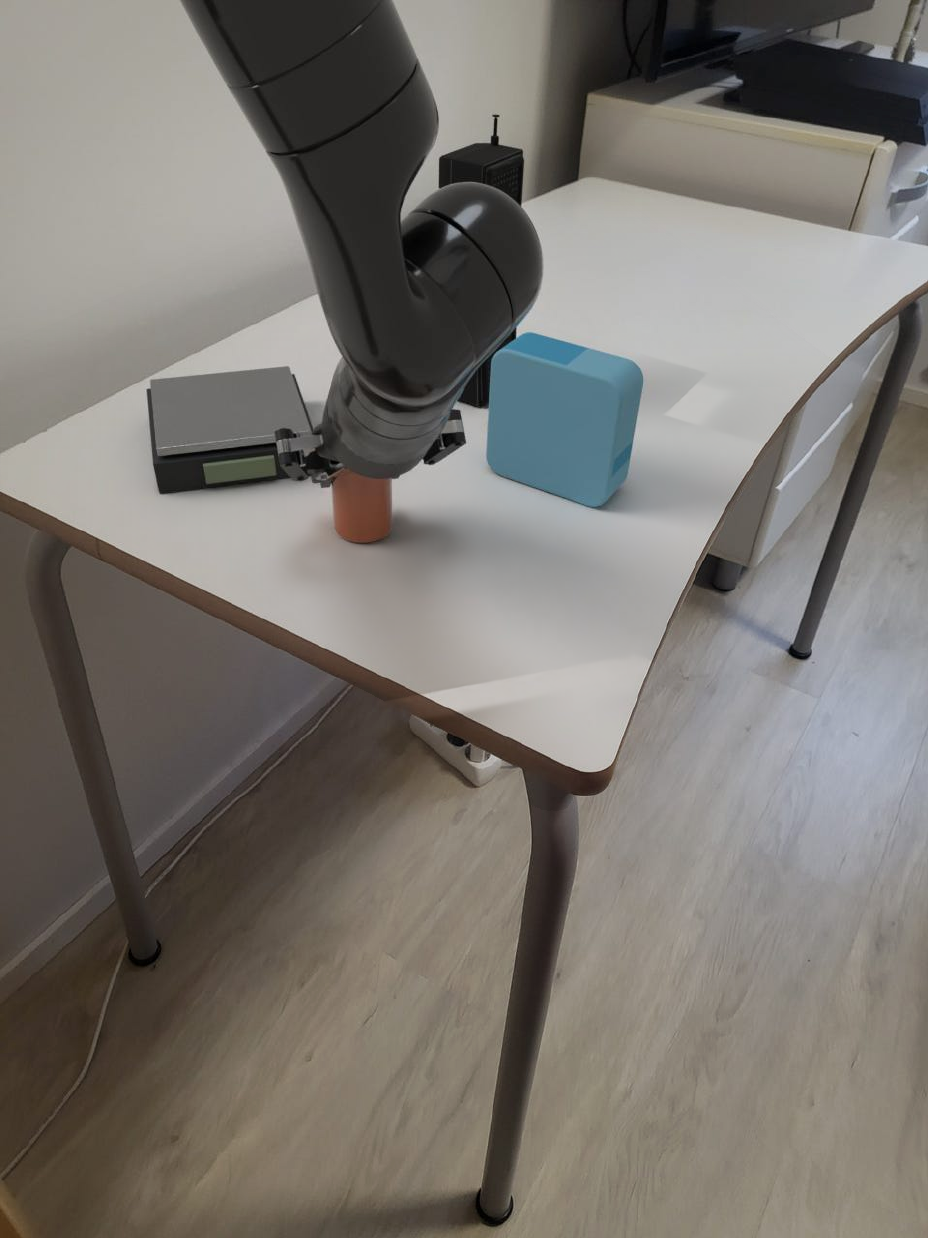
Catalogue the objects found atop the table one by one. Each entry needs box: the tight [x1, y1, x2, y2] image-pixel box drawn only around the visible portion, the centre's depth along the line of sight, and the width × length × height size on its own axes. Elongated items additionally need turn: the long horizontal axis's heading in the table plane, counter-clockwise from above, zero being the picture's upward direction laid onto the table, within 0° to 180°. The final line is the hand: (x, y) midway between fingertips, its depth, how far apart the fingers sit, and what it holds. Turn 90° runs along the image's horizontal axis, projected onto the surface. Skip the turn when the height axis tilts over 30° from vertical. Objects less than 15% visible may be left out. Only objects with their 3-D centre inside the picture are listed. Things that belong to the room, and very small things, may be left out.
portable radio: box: [438, 114, 525, 408], centre depth 88 cm, size 8×6×25 cm
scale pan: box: [149, 365, 312, 456], centre depth 85 cm, size 13×13×1 cm
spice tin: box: [330, 471, 393, 544], centre depth 75 cm, size 5×5×8 cm
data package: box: [485, 331, 644, 508], centre depth 80 cm, size 12×4×12 cm, turn 59°
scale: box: [146, 373, 314, 495], centre depth 86 cm, size 14×14×3 cm
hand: (357, 471), depth 76 cm, fingers closed on spice tin, 5 cm apart
